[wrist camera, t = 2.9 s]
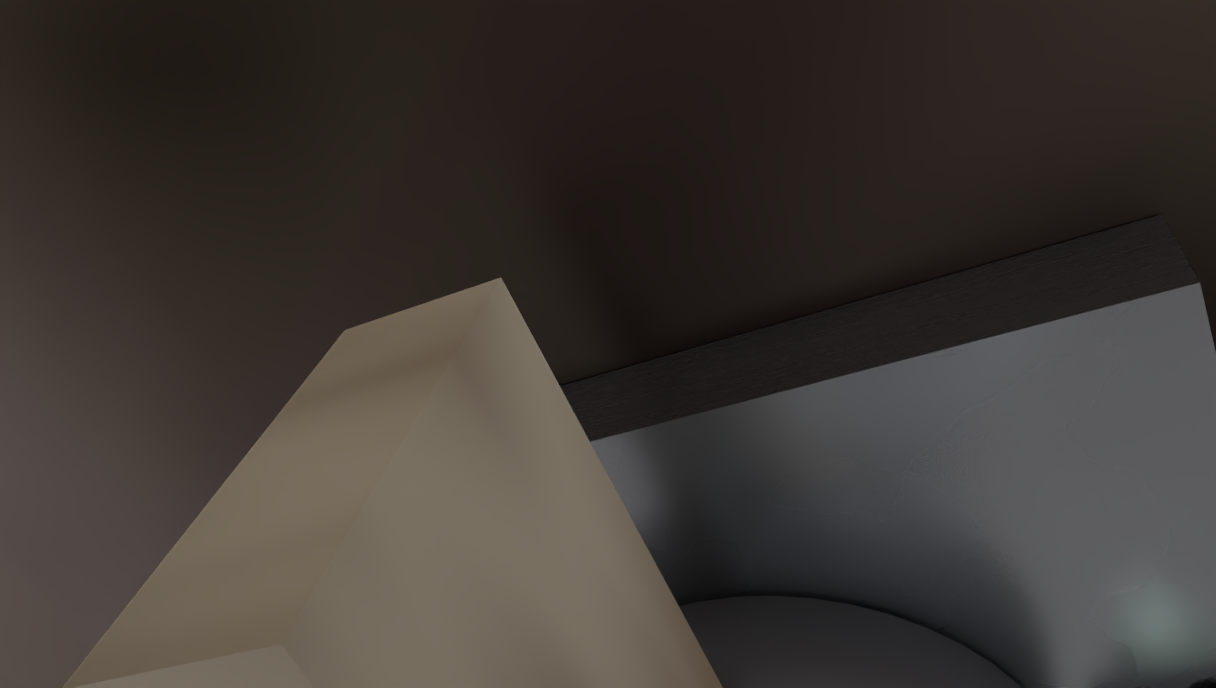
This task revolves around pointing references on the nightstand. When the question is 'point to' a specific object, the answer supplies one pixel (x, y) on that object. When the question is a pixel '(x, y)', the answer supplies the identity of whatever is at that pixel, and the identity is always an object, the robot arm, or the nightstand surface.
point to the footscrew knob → (464, 549)
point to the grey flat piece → (953, 461)
